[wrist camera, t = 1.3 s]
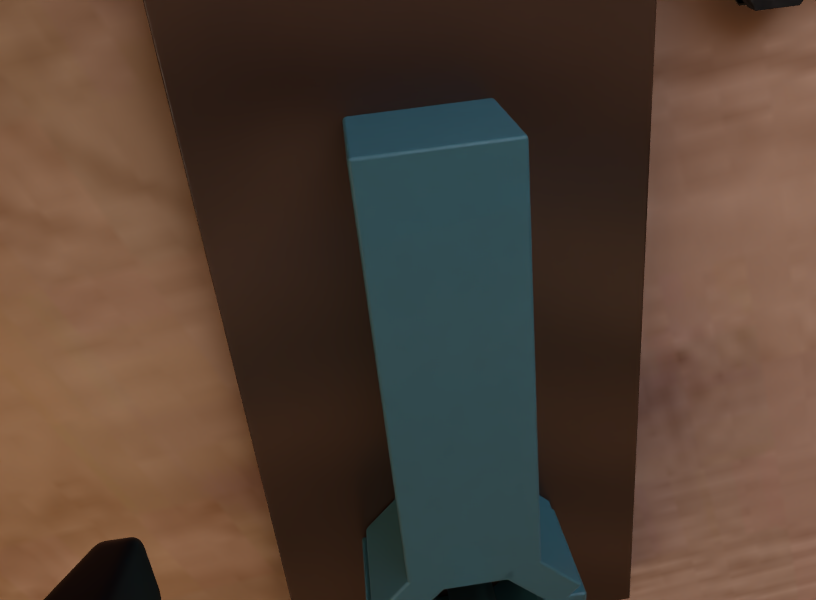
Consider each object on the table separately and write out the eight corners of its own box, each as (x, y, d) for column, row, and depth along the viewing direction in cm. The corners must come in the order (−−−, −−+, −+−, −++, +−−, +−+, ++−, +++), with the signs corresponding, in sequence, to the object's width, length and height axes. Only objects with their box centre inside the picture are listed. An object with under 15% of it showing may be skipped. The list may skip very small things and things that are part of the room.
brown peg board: (618, 573, 24) (711, 780, 19) (303, 623, 24) (299, 851, 18) (642, -101, 15) (833, -103, 10) (143, -42, 15) (36, -8, 9)
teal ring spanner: (555, 599, 23) (586, 689, 20) (377, 627, 23) (385, 722, 20) (546, 89, 16) (591, 126, 13) (288, 122, 16) (282, 167, 13)
